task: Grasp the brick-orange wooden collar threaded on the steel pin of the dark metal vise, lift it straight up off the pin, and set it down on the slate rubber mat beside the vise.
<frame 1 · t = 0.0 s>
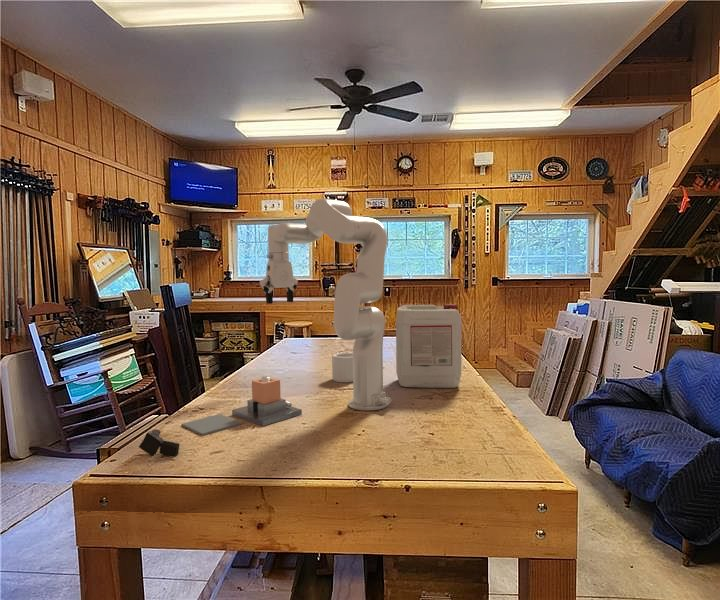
hand: (280, 302, 177), 31 cm above the table, tool pointing down, fingers open, 9 cm apart
mat: (211, 425, 132), on the table
mug: (346, 379, 185), on the table
vise: (266, 414, 141), on the table
jerry can: (428, 383, 176), on the table
lighter: (160, 455, 111), on the table
collar: (266, 399, 140), point 4 cm above the table, touching vise
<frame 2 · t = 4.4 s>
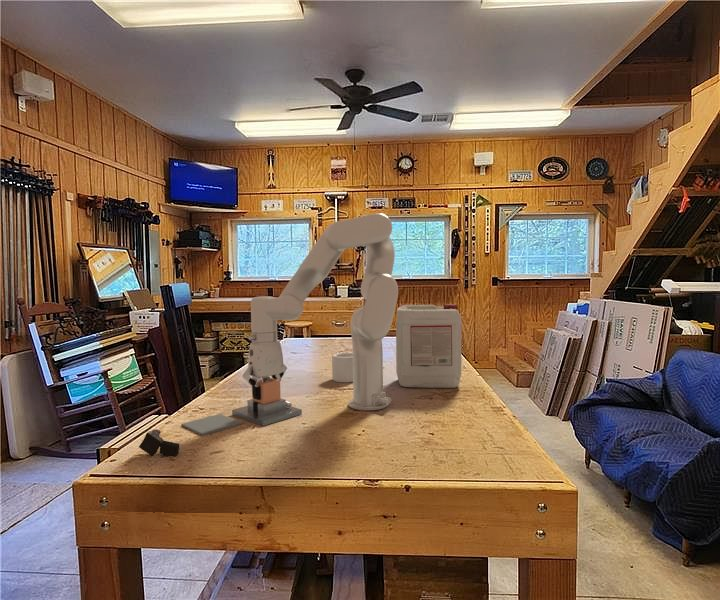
hand: (266, 396, 140), 6 cm above the table, tool pointing down, fingers closed on collar, 6 cm apart
collar: (266, 399, 140), point 5 cm above the table, touching gripper, vise
everything else where it was.
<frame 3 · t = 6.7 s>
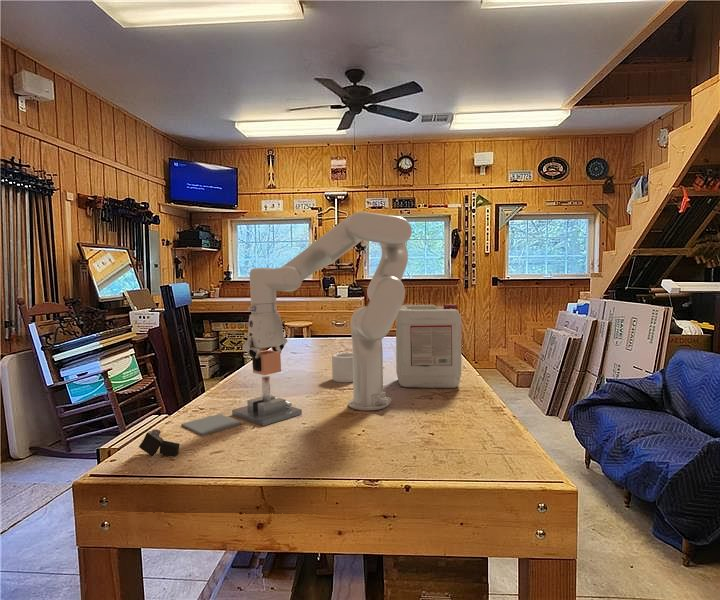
hand: (266, 368, 140), 14 cm above the table, tool pointing down, fingers closed on collar, 6 cm apart
collar: (267, 372, 140), point 13 cm above the table, touching gripper
everything else where it was.
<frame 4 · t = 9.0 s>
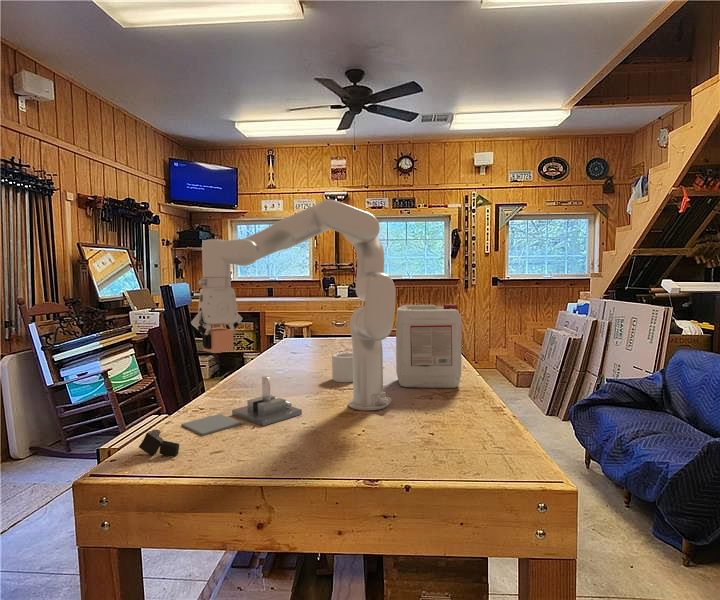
hand: (218, 346, 132), 22 cm above the table, tool pointing down, fingers closed on collar, 6 cm apart
collar: (218, 350, 132), point 21 cm above the table, touching gripper
everything else where it was.
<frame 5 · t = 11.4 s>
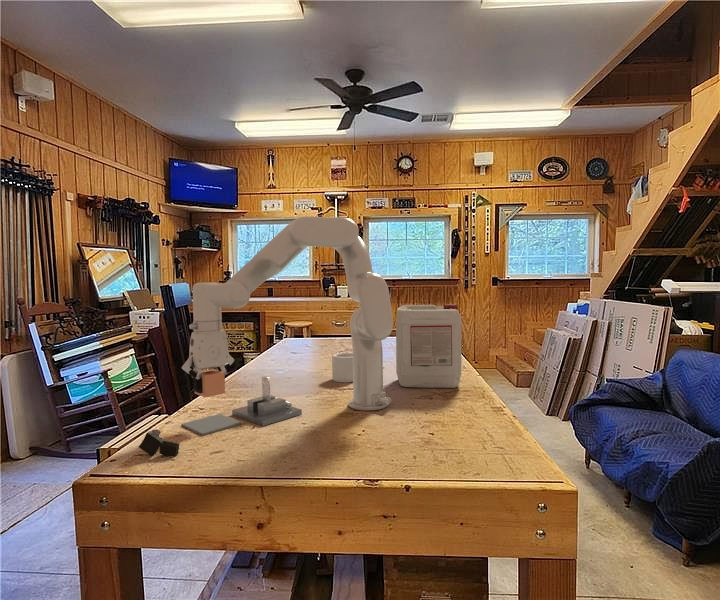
hand: (209, 389, 131), 10 cm above the table, tool pointing down, fingers closed on collar, 6 cm apart
collar: (209, 393, 131), point 9 cm above the table, touching gripper
everything else where it was.
when the fingers open (3 cm above the table, at t = 13.7 s): collar drops 1 cm, resting on mat.
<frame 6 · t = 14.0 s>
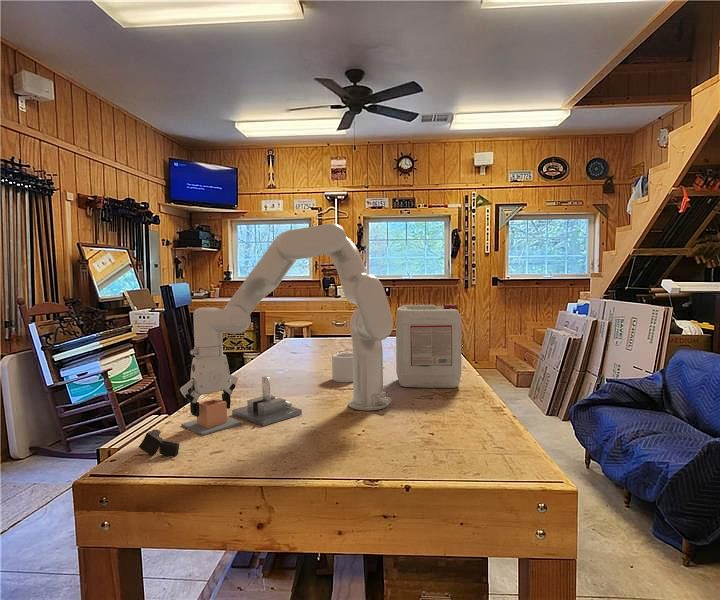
hand: (211, 411, 131), 4 cm above the table, tool pointing down, fingers open, 9 cm apart
collar: (212, 422, 132), point 1 cm above the table, touching mat
everything else where it was.
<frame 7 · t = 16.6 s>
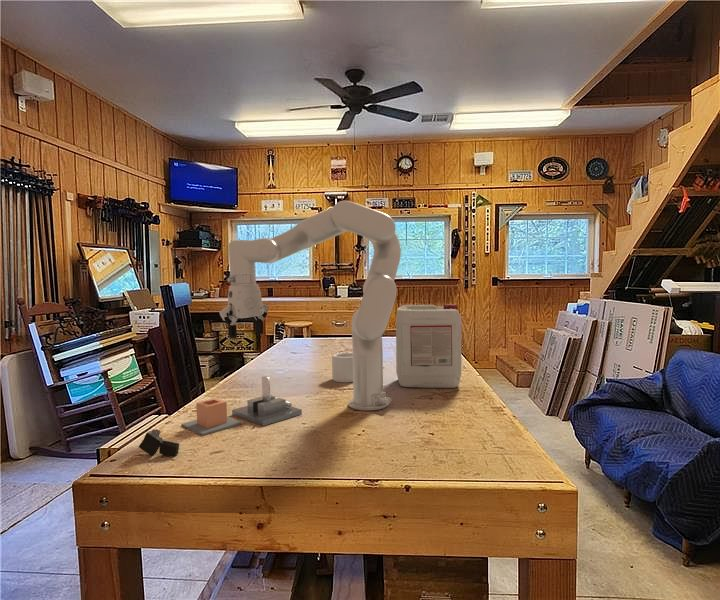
hand: (246, 335, 144), 23 cm above the table, tool pointing down, fingers open, 9 cm apart
nothing on the table moved.
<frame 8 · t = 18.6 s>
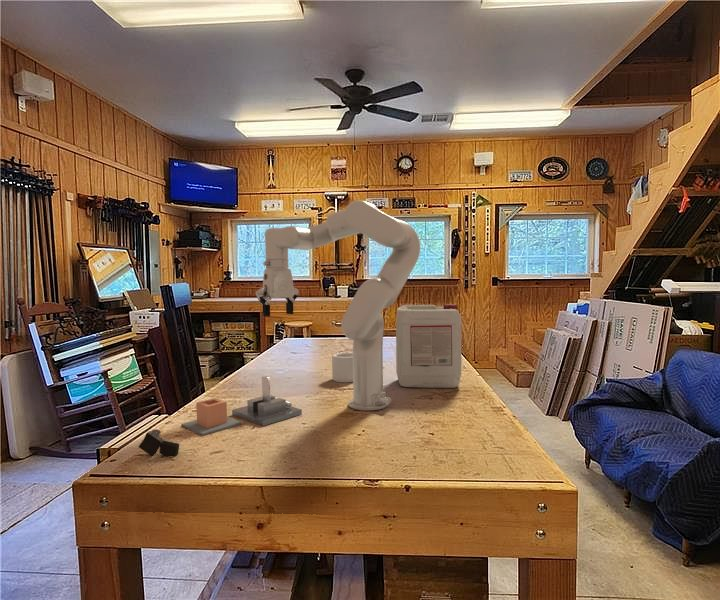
hand: (278, 315, 158), 28 cm above the table, tool pointing down, fingers open, 9 cm apart
nothing on the table moved.
at the end: collar inside the target area on the mat (0.1 cm from its centre), point 0.6 cm above the mat's base; collar tilted 0° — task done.
